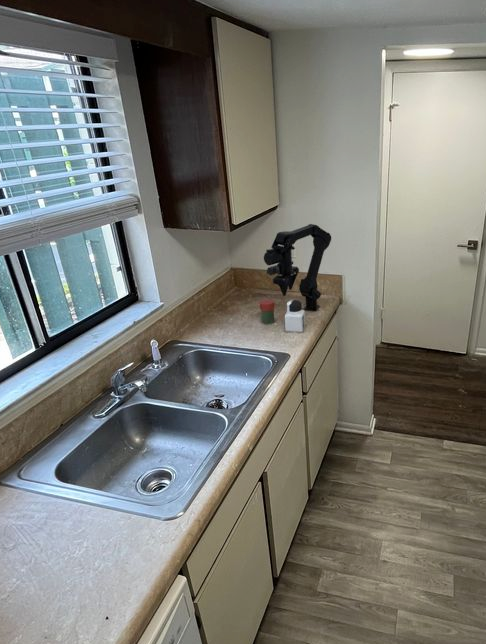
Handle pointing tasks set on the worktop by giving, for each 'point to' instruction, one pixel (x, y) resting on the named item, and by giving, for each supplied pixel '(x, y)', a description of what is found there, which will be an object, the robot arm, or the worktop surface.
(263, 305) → the jar lid
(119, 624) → the worktop surface
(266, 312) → the jam jar
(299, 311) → the container
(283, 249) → the robot arm
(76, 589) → the worktop surface
